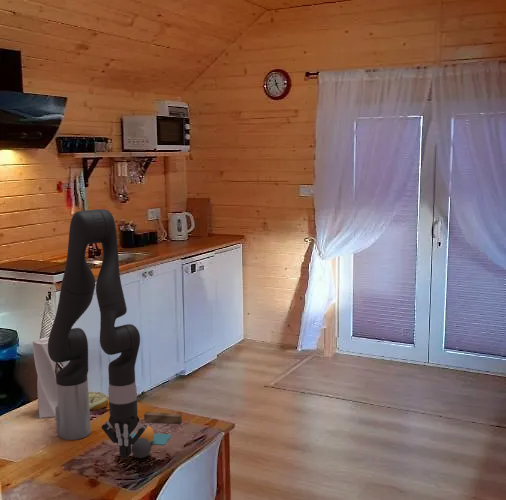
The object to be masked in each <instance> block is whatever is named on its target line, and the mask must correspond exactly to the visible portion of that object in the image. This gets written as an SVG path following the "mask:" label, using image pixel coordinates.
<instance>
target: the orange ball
mask: <svg viewBox="0 0 506 500" xmlns="http://www.w3.org/2000/svg"><path fill="white" fill-rule="evenodd" d="M145 425H146V426H147V428H146V430H145V431H144V432H143V433H142V435H141V436H140V437H139V438H145V439H147V440H148V441H149V442H150V443H151V442H152V440H153V439H154V433H155V431H154V429H153V428H152V427H151V426H150V425H147V424H145ZM135 432H136V434H137V430H135Z"/></svg>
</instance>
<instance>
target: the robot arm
mask: <svg viewBox="0 0 506 500" xmlns="http://www.w3.org/2000/svg"><path fill="white" fill-rule="evenodd" d="M68 232H69V233H68V243H67V244H68V246H67V254H66V255H67V256H66V261H65V267H64V272H63V276H62V281H61V285H60V291H59V297H58V298H59V299H58V304H57V308H56V314H55V317H54V320H53V323H52V327H51V329H50V335H49V336H48V338H49V340H48V353H49V357H50V358H51V360H52V361H54V362H56V364H57V363H65V362H68V363H67V364H66V365H65V366H64V367H63V368H61V369H60V370H58V371H57V373H55V374H56V385H57V399H58V406H56V408H55V412H56V417H55V421H56V422H55V424H56V426H55V427H56V437H57V438H61V439H62V440H67V441H74V440H75V441H76V440H81V439H84V438H86V437H87V436H90V434H91V432H92V431H91V430H92V429H91V414H90V412H91V410H89V395H88V392H89V383H88V374H89V342H88V341H89V340H88V337H87V335H86V332H85V330H83V329H82V328H81V327H74V328H73V326H74V325H75V324H76V322H77V321H79V319H80V318H81V316H82V315H83V314H85V312H86V311H87V309H88V308H90V305H91V303H92V301H93V299H94V297H93V296H94V292H95V294H96V299H97V304H98V307H99V312H100V313H99V314H100V323H99V325H100V329H99V345H100V348H101V349H102V351H103V353H105V354H107V355H108V356H113V355H118V354H120V355H119V356H118V357H117V358H115V359H113V360H112V361H111V362H109V364H108V366H107V367H108V368H107V369H108V372H107V373H108V406H109V407H108V408H109V409H108V410H109V417H108V421H105V422H104V423H103V424H102V425H101V429H102V430H103V432H104V433H105V434H106V435H107V437H108V438H109V439H110V441H111V442H112V443H113V444H115V443H116V444H117V445H118V447H119V448H118V449H119V456H120V457H121V459H128V458H129V457H130V456H131V454H132V445H133V444H134V443H135V442H136V441H137V440H138V438H139V437H140V436H141V435H142V433H143V432H144V431H145V430H146V428H147V426H148V425H147V424H143V423H141V422H140V418H139V416H138V415H139V414H138V410H139V409H138V392H137V390H138V389H137V384H136V369H135V368H136V363H137V359H138V353H139V349H140V345H141V334H140V331H139V328H137V327H136V326H135V325H134V324H133V323H129V324H127V323H126V324H123V325H119V326H115V324H116V320H117V319H119V318H121V317H123V316H125V314H127V311H128V307H127V304H126V299H125V294H124V290H123V286H122V280H121V273H120V264H119V263H120V262H119V261H120V260H119V249H118V248H119V247H118V235H117V226H116V221H115V218H114V216H113V214H112V213H111V211H109V210H108V209H105V208H100V209H97V208H96V209H87V210H86V209H85V210H78V211H76V212H74V213H73V215H72V217H71V219H70V224H69V231H68ZM93 244H101V247H102V253H103V254H102V263H101V267H100V270H99V272H98V275H97V279H96V278H95V274H94V273H93V271H92V269H91V267H90V266H89V264H88V261H87V260H86V251H87V247H88V246H89V245H93ZM146 425H147V426H146ZM135 428H136V431H137V434H136V435H135V436H134V437H133V438H132V435H133V434H134V432H133V431H135Z"/></svg>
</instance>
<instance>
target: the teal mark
mask: <svg viewBox="0 0 506 500" xmlns="http://www.w3.org/2000/svg"><path fill="white" fill-rule="evenodd" d="M135 435H136V431H134V432H133V433H132V438H133V437H134V436H135ZM172 435H173V434H168V433H155V432H154V439H153V440H152V442H151V443H150V444H151V445H157V446H158V445H159V446H165V445H166V444H167V442H168V441H169V440H170V439H171V437H172Z"/></svg>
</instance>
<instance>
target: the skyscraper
mask: <svg viewBox="0 0 506 500" xmlns="http://www.w3.org/2000/svg"><path fill="white" fill-rule="evenodd" d="M49 335H50V333H47V335H46V337H41V338H39V340H33V341H32V350H33V359H34V364H35V370H36V374H37V375H36V376H37V386H36V390H37V391H36V392H37V405H38V411H37V413H36V415H35V416H34V419H47V418H56V412H55V408H56V406H58V399H57V385H56V374H57V373H56V372H55V371H56V365H57V362H54V361H52V360H51V358H50V357H49V353H48V340H49Z"/></svg>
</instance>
